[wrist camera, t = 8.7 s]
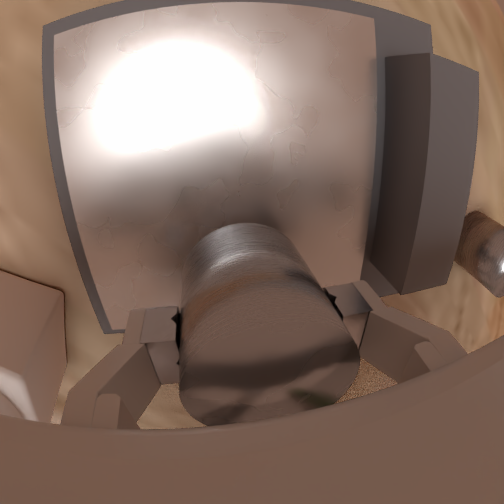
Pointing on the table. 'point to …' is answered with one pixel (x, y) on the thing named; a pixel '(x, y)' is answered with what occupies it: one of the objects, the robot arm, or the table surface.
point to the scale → (386, 151)
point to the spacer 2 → (482, 251)
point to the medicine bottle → (30, 348)
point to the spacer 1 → (258, 330)
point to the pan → (215, 138)
